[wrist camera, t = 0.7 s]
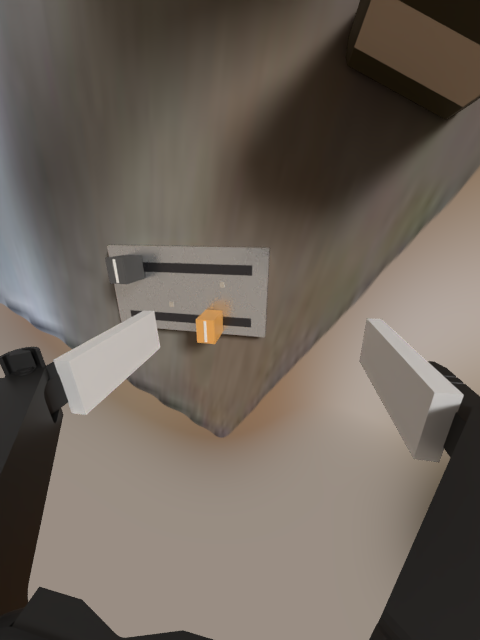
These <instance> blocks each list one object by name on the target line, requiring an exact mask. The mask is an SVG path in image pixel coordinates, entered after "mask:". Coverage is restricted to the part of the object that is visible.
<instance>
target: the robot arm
mask: <svg viewBox="0 0 480 640" xmlns="http://www.w3.org/2000/svg"><path fill="white" fill-rule="evenodd" d="M158 349H160V343H159V337H158V331H157V325H156V319H155V313H154V311H142V312H140V313H138V314H136V315H135V316H133V317H131V318H129V319H127V320H125V321H124V322H122V323H120V324H118V325H116V326H114V327H113V328H111V329H109V330H107V331H105V332H104V333H102V334H100V335H98V336H96V337H94V338H93V339H91V340H89V341H87V342H85V343H83V344H82V345H80V346H78V347H76V348H74V349H72V350H71V351H69V352H67V353H65V354H63V355H61V356H60V357H58V358H56V359H54V360H53V361H54V362H52V363H50V364H49V365H47V366H46V365H45V363H44V360H43V357H42V354H41V351H40V349H39V348H38V347H26V348H21V349H17V350H13V351H11V352H8V353H6V354H4V355H2V356H0V364H1V366H2V369H3V371H4V373H5V378H0V640H213V639H209V638H206V637H203V636H200V635H196V634H193V633H190V632H186V631H175V632H168V633H160V634H152V635H145V636H137V637H129V638H122V637H119V636H118V635H116V634H115V633H114V632H113V631H112V630H111V629H110V628H109V627H108V626H107V625H106V624H105V623H104V622H103V621H102V619H101V618H100V617H99V616H97V614H96V613H95V612H94V611H93V610H92V609H91V608H90V607H88V605H87V604H86V603H85V602H84V601H83V600H81V599H78V598H75V597H71V596H68V595H65V594H61V593H58V592H54V591H51V590H48V589H45V588H42V587H39V588H38V589H37V591H36V592H35V594H34V595H33V596H32V598H31V599H30V601H29V602H28V596H27V595H28V583H29V578H30V573H31V568H32V564H33V559H34V554H35V549H36V544H37V539H38V534H39V530H40V525H41V520H42V515H43V510H44V505H45V501H46V496H47V491H48V486H49V481H50V476H51V471H52V467H53V462H54V457H55V452H56V447H57V442H58V437H59V433H60V428H61V423H62V418H63V412H62V409H61V407H62V406H64V405H65V404H66V403H68V404H69V407H70V410H71V413H73V414H81V415H87V414H88V413H89V412H90V411H91V410H92V409H94V408H95V407H96V406H97V405H98V404H99V403H100V402H101V401H102V400H103V399H105V397H107V396H108V395H109V394H110V393H111V392H112V391H113V390H114V389H116V388H117V387H118V386H119V385H120V384H121V383H122V382H123V381H124V380H125V379H127V378H128V377H129V376H130V375H131V374H132V373H133V372H134V371H135V370H136V369H138V368H139V367H140V366H141V365H142V364H143V363H144V362H145V361H146V360H147V359H149V358H150V357H151V356H152V355H153V354H154V353H155V352H156V351H157V350H158ZM360 363H361V365H362V366H363V368H364V370H365V372H366V374H367V376H368V377H369V379H370V381H371V383H372V385H373V386H374V388H375V390H376V392H377V394H378V395H379V397H380V399H381V401H382V403H383V404H384V406H385V408H386V410H387V412H388V413H389V415H390V417H391V419H392V420H393V422H394V424H395V426H396V428H397V430H398V431H399V433H400V435H401V437H402V439H403V440H404V442H405V444H406V446H407V448H408V449H409V451H410V453H411V455H412V457H413V458H414V459H418V460H426V461H433V462H439V461H440V458H441V456H442V453H443V450H444V449H445V450H446V452H447V453H448V454H449V456H450V457H451V458H450V461H449V463H448V465H447V468H446V470H445V472H444V474H443V477H442V479H441V481H440V484H439V486H438V488H437V490H436V492H435V495H434V497H433V499H432V502H431V504H430V506H429V508H428V511H427V513H426V516H425V518H424V520H423V522H422V524H421V527H420V529H419V531H418V534H417V536H416V538H415V540H414V543H413V545H412V547H411V550H410V552H409V554H408V556H407V559H406V561H405V563H404V566H403V568H402V570H401V572H400V575H399V577H398V579H397V582H396V584H395V586H394V588H393V591H392V593H391V596H390V598H389V600H388V602H387V604H386V607H385V609H384V611H383V613H382V616H381V618H380V620H379V622H378V624H377V625H376V627H375V629H374V631H373V633H372V635H371V637H370V639H369V640H480V396H478V395H477V394H476V393H475V392H474V391H473V390H471V389H470V388H469V387H468V386H467V385H466V384H463V382H462V381H461V380H460V379H458V378H456V376H455V375H454V374H453V373H452V372H450V371H449V370H448V369H447V368H445V367H443V366H441V365H439V364H437V363H436V362H431V361H427V360H426V359H424V358H423V357H422V356H421V355H420V354H419V353H418V352H417V351H416V350H415V349H413V348H412V347H411V346H410V345H409V344H408V343H407V342H406V341H405V340H404V339H403V338H402V337H401V336H400V335H399V334H397V333H396V332H395V331H394V330H393V329H392V328H391V327H390V326H389V325H388V324H387V323H386V322H385V321H383V320H382V319H371V318H367V321H366V326H365V332H364V338H363V344H362V350H361V356H360Z"/></svg>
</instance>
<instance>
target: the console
mask: <svg viewBox="0 0 480 640" xmlns="http://www.w3.org/2000/svg"><path fill="white" fill-rule="evenodd" d="M107 248H108V254H109V257H113V256H120V255H142V262H143V269H144V276H145V279H142V280H139V281H136V282H133V283H130V284H114V286H115V291H116V296H117V302H118V307H119V312H120V318H121V323H122V322H124V321H125V320H127V319H129V318H131V317H133V316H135V315H136V314H138V313H140V312H142V311H154V313H155V319H156V325H157V328H159V329H171V330H183V331H195V332H196V318H198V317H199V316H200V315H201V314H202V313H203V312H204V311H205V310H221V311H223V333H222V334H231V335H243V336H255V337H265V334H266V319H267V298H268V277H269V256H270V247H229V246H168V245H107Z"/></svg>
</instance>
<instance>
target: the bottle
mask: <svg viewBox="0 0 480 640" xmlns="http://www.w3.org/2000/svg"><path fill="white" fill-rule="evenodd" d="M346 60H347V65H348V66H350V67H352V68H353V69H355V70H357V71H359V72H361V73H362V74H364V75H366V76H368V77H370V78H371V79H373V80H375V81H377V82H379V83H381V84H382V85H384V86H386V87H388V88H390V89H391V90H393V91H395V92H397V93H399V94H400V95H402V96H404V97H406V98H408V99H410V100H411V101H413V102H415V103H417V104H419V105H420V106H422V107H424V108H426V109H428V110H429V111H431V112H433V113H435V114H437V115H439V116H440V117H442V118H444V119H447V118H449V117H451V116H453V115H455V114H456V113H458V112H459V111H461V110H463V109H464V108H466V107H467V106H469V105H470V104H472V103H473V102H475V101H476V100H478V99H479V98H480V0H360V3H359V6H358V9H357V13H356V16H355V19H354V22H353V25H352V28H351V32H350V35H349V38H348V46H347V54H346Z"/></svg>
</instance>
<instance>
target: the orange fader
mask: <svg viewBox="0 0 480 640" xmlns="http://www.w3.org/2000/svg"><path fill="white" fill-rule="evenodd" d="M196 332H197V342H198V343H209V344H215V343H216V342H217V340H218V339H219V337H220V336H221V334H222V333H223V311H221V310H205V311H204V312H203V313H202V314H201V315H200V316H199V317H198V318H196Z"/></svg>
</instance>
